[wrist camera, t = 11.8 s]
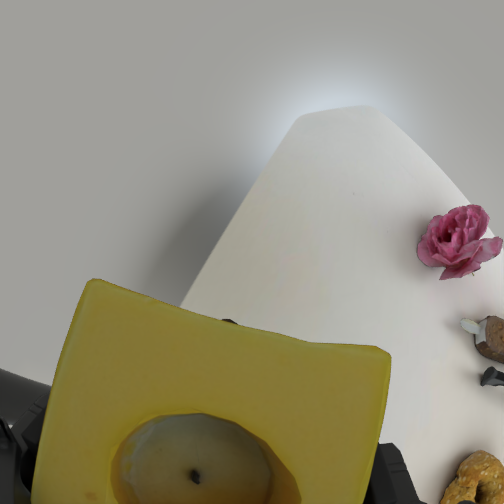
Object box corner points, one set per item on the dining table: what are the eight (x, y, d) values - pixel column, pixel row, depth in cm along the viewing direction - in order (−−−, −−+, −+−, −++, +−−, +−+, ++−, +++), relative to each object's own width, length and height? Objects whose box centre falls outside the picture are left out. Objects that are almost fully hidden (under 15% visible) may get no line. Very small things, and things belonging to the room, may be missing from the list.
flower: (401, 274, 36) (407, 202, 32) (441, 257, 39) (449, 194, 35) (464, 314, 26) (484, 230, 22) (498, 287, 29) (514, 216, 25)
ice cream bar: (519, 371, 25) (532, 366, 22) (450, 346, 28) (464, 339, 25) (521, 337, 27) (533, 331, 25) (455, 307, 30) (467, 298, 28)
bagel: (495, 440, 20) (521, 437, 16) (487, 512, 14) (510, 515, 10) (439, 462, 20) (466, 464, 16) (428, 540, 15) (451, 549, 10)
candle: (158, 344, 17) (86, 266, 9) (319, 381, 16) (399, 336, 8) (117, 487, 12) (16, 523, 3) (283, 531, 11) (323, 618, 3)
